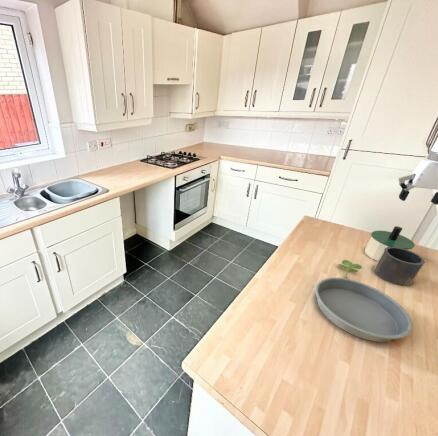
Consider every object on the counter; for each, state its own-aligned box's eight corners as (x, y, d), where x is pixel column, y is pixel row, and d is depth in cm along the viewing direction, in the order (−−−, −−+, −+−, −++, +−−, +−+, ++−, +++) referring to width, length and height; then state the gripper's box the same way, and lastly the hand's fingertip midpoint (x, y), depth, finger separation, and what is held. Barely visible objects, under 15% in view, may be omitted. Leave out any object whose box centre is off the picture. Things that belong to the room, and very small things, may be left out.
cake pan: (404, 365, 65) (413, 355, 63) (303, 314, 80) (307, 304, 78) (406, 311, 81) (413, 301, 78) (320, 276, 96) (324, 267, 94)
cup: (400, 269, 99) (413, 249, 94) (418, 288, 89) (432, 267, 85) (368, 264, 102) (378, 244, 97) (381, 282, 92) (394, 261, 88)
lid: (401, 235, 106) (409, 222, 103) (421, 252, 95) (430, 238, 92) (364, 230, 110) (370, 218, 107) (379, 247, 99) (386, 233, 96)
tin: (392, 250, 110) (401, 234, 106) (409, 267, 99) (420, 250, 95) (359, 245, 113) (367, 230, 109) (372, 262, 103) (381, 245, 99)
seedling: (340, 283, 99) (345, 270, 101) (362, 285, 91) (366, 270, 93) (328, 273, 98) (333, 260, 100) (349, 274, 91) (354, 259, 93)
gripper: (468, 157, 86) (441, 200, 94) (406, 153, 92) (385, 194, 100) (484, 162, 80) (453, 208, 88) (416, 158, 86) (393, 201, 94)
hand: (417, 201), depth 94 cm, fingers open, 9 cm apart
